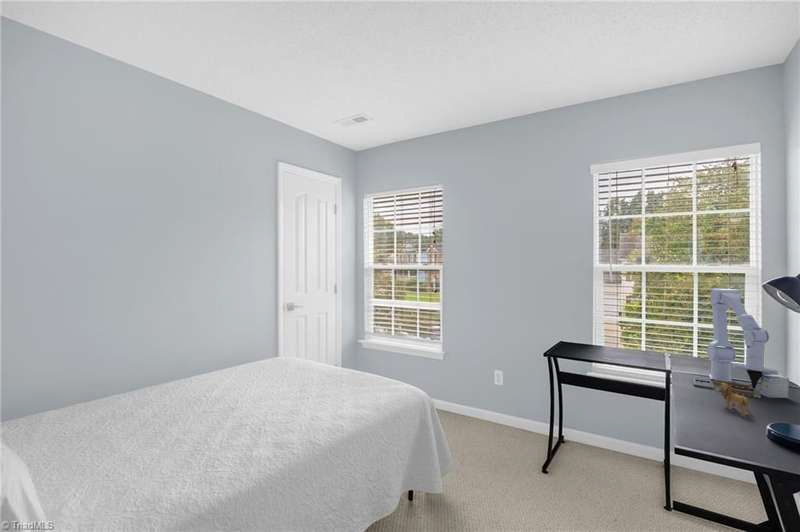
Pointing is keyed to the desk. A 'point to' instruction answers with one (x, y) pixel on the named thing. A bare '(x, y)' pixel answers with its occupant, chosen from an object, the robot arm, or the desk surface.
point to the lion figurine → (734, 398)
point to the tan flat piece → (754, 394)
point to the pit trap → (702, 382)
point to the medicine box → (774, 386)
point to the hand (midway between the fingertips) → (753, 388)
